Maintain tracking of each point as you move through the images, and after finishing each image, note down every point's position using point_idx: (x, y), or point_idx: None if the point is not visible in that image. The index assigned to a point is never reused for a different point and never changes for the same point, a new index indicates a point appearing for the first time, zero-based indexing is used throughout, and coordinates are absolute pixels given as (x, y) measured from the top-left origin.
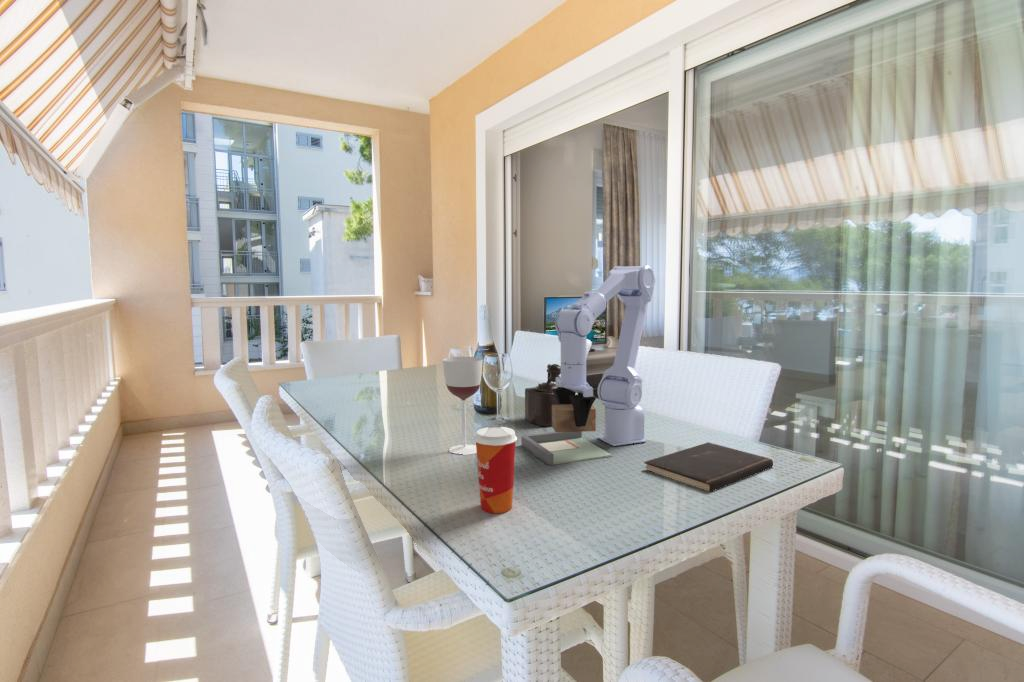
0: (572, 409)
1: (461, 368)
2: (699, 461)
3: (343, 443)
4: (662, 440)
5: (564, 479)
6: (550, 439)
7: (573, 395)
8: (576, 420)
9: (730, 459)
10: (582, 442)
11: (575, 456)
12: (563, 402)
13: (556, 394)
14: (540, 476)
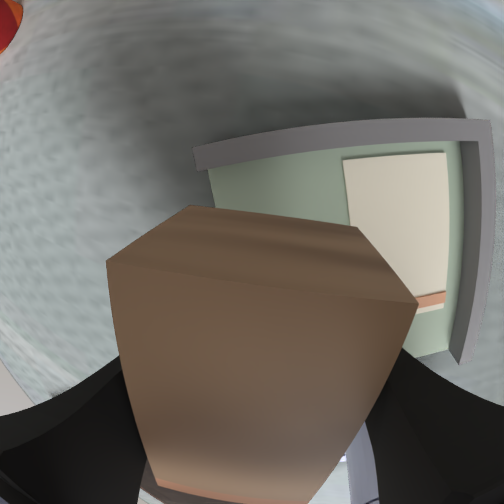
0: (141, 409)
1: None
2: (146, 462)
3: None
4: (337, 475)
5: (78, 176)
6: (467, 241)
7: (8, 479)
8: (116, 358)
9: (159, 486)
10: (407, 341)
11: None
12: (390, 423)
13: (456, 449)
14: (108, 104)
